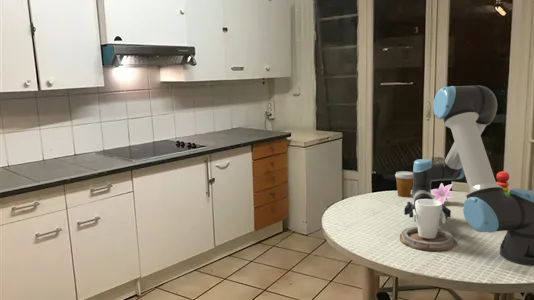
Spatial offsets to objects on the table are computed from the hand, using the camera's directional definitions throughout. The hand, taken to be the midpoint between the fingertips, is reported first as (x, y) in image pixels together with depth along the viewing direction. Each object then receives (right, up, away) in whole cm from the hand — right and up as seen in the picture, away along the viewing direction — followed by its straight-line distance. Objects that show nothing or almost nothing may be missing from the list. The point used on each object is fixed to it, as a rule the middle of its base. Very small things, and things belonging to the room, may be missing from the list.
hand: (429, 219), depth 159 cm
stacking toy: (+46, -3, +38) cm, 60 cm away
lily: (+26, -1, +54) cm, 60 cm away
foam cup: (+1, -7, +6) cm, 9 cm away
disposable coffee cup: (+12, +1, +68) cm, 69 cm away
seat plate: (+1, -9, +6) cm, 11 cm away
